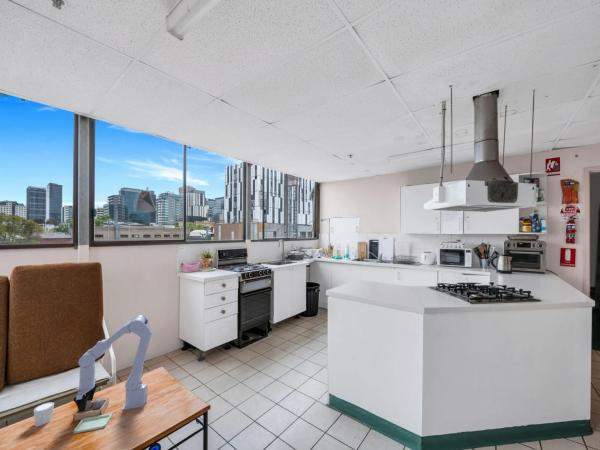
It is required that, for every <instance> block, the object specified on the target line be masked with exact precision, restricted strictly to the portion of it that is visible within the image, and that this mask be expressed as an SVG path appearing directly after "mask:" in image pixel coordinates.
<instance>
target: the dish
mask: <svg viewBox="0 0 600 450" xmlns="http://www.w3.org/2000/svg"><path fill="white" fill-rule="evenodd" d="M103 399H104V398H103ZM109 400H110V398H105V399H104V400H103V406H102V407H101V408H100V409H99V410H93V401H94V400H92V401H91V411H87V412H81V413H80V412H79V411H78V409H76V411H75V412H74V413H73V414H72V422H77V421H81V420H82V419H83V418H88V417H94V416H99V415H104V413H105V411H106V409H107V408H108V406H109V403H110V402H109Z"/></svg>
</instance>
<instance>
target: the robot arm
mask: <svg viewBox="0 0 600 450" xmlns="http://www.w3.org/2000/svg"><path fill="white" fill-rule="evenodd" d="M131 333H133V334H135V335H137V336H139V337H140V339H139V343H138V346H137V349H136V355H135V357H134V362H133V364H132V369H131V372H130V373H129V376H128V378H127V380H126V382H125V384H124V386H125V387H124V388H125V398H124V399H125V400H124V401H125V402H124V405H123V406H122V408H121V410H123V411H124V410H131V409H136V408H141V407H142V408H143V407H144V406H145V403H146V402H147V399H148V384H147V383H145V384H143V382H142V378H143V376H144V372H143V369H144V363H145V360H146V356H147V352H148V349H149V346H150V342H151V337H152V334H153V331H152V329H151V326H150V324H149V319H147V318H146V316H144V315H137V316H135V317H134V318H133V319H131V320H130V321H128V322H126V323H125V324H123V325H122V327H120V328H119V329H118V330H116V331H115V332H114V333H113V334H112V335H110V337H108V338H106V339H101V340H98V341H97V342H96V344H95V345H94V346H93V347H92V348H89V349H87V350H86V352H85V353H84V354H83V355H82V356H80V358H79V359H78V365H79V366H80V367H79V379H78V380H79V383H78V384H79V386H78V387H76V388H75V391H77V394H76V395H75V397H74V398H73V402H74V404H76V406H77V410H78V411H79V412H81V411H84V410H85V408H86V403H87V400H91V401H94V400H93V399H94V395H95V393H96V391H97V390H96V389H97V388H98V387H99V383H96V382H97V378H96V376H95V373H96V360H97V359H98V358H100V357H101V356H102V355H103V354H105V353H106V352H107V351H108V350H110V349H111V347H112V344H113V343H115V342H116V341H117V340H118V339H120V338H122V336H124V335H125V334H131Z"/></svg>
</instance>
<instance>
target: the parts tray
mask: <svg viewBox="0 0 600 450" xmlns="http://www.w3.org/2000/svg"><path fill="white" fill-rule="evenodd" d="M113 414H114V413H112V412H111V413H105V414H102V415H99V416H94V417H88V418H83V419H82V420H79V422H78V424H77V425H76V427H75V428H74V429H73V430H72V435H75V434H79V433H83V432H84V433H85V432H89V431H95V430H101V429H105V428H106V426H107V425H108V423H109V422H110V420H111V419H112V417H113Z"/></svg>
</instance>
